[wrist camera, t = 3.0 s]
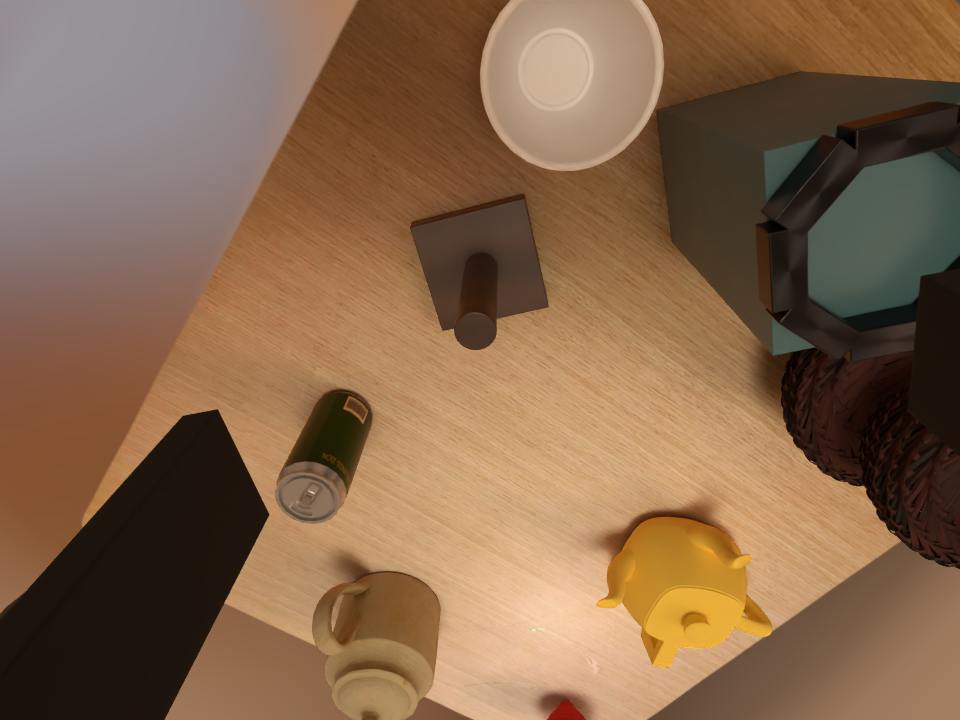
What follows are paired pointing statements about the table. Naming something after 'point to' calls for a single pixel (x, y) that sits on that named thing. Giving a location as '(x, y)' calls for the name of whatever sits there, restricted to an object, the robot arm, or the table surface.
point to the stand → (844, 226)
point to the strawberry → (566, 712)
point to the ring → (804, 202)
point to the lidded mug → (379, 645)
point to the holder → (480, 267)
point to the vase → (876, 444)
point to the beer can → (324, 459)
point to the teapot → (683, 587)
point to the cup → (571, 78)
